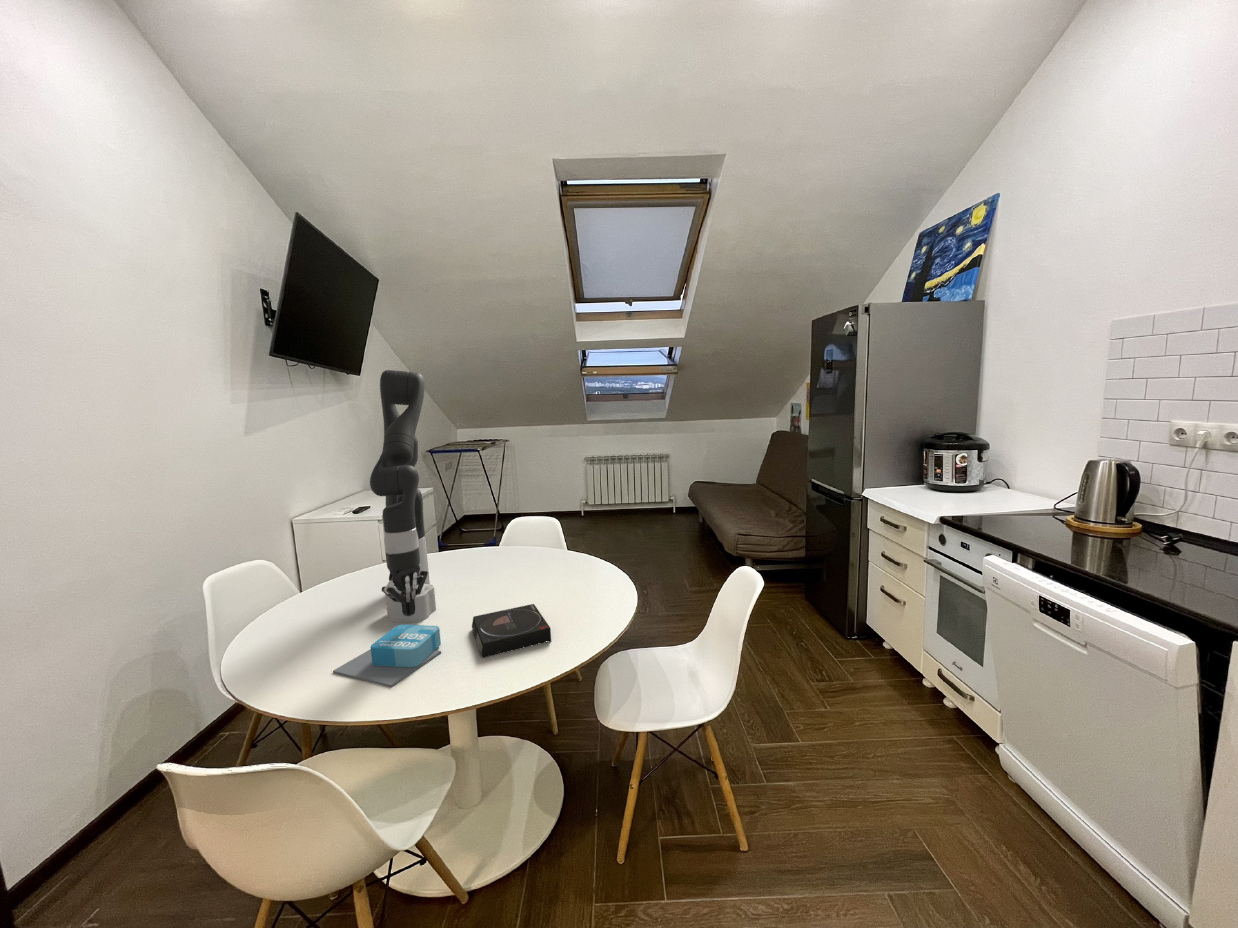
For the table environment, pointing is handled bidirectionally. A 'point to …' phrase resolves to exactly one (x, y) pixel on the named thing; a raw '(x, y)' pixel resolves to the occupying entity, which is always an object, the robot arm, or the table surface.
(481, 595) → the table surface
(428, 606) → the bumpy-topped grey block
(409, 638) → the data package
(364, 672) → the mat
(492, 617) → the portable cd player
